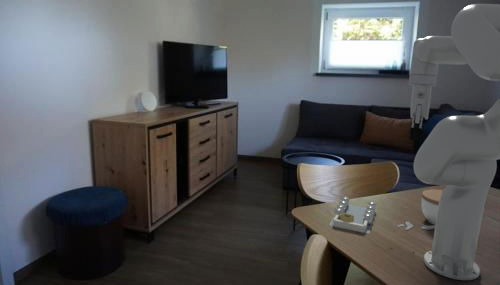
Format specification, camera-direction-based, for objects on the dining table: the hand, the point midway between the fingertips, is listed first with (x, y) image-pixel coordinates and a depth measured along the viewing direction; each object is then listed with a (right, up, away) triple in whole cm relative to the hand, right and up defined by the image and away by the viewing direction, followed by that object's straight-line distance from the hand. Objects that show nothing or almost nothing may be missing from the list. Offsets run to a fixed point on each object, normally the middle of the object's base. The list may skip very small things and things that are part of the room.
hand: (414, 140), depth 114 cm
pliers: (+1, -28, +2) cm, 28 cm away
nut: (-22, -26, -1) cm, 34 cm away
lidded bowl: (+10, -27, +5) cm, 30 cm away
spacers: (-17, -25, +7) cm, 31 cm away
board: (-18, -26, +5) cm, 32 cm away
